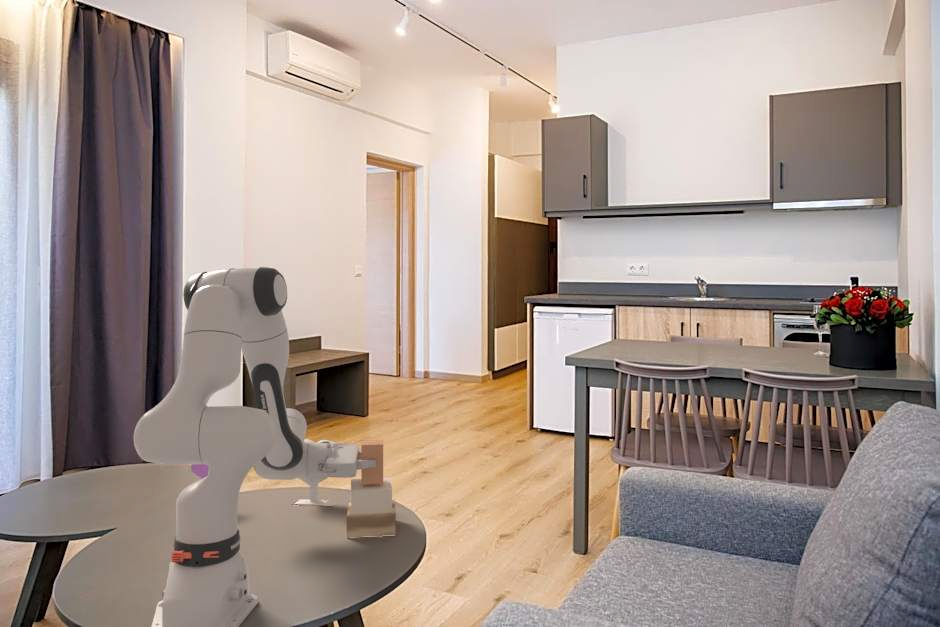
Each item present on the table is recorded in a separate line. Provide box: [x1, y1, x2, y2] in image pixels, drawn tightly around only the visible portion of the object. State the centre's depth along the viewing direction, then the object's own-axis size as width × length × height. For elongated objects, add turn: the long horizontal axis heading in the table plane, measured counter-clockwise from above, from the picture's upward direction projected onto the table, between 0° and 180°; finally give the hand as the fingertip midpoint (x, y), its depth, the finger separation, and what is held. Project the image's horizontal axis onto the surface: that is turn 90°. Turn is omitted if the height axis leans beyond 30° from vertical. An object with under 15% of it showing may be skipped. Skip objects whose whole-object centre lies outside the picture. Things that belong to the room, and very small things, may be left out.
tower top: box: [350, 477, 393, 515], centre depth 177 cm, size 10×10×6 cm
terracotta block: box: [360, 439, 384, 485], centre depth 176 cm, size 5×5×10 cm
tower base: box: [346, 498, 397, 538], centre depth 177 cm, size 12×12×6 cm
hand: (376, 459), depth 177 cm, fingers closed on terracotta block, 5 cm apart
